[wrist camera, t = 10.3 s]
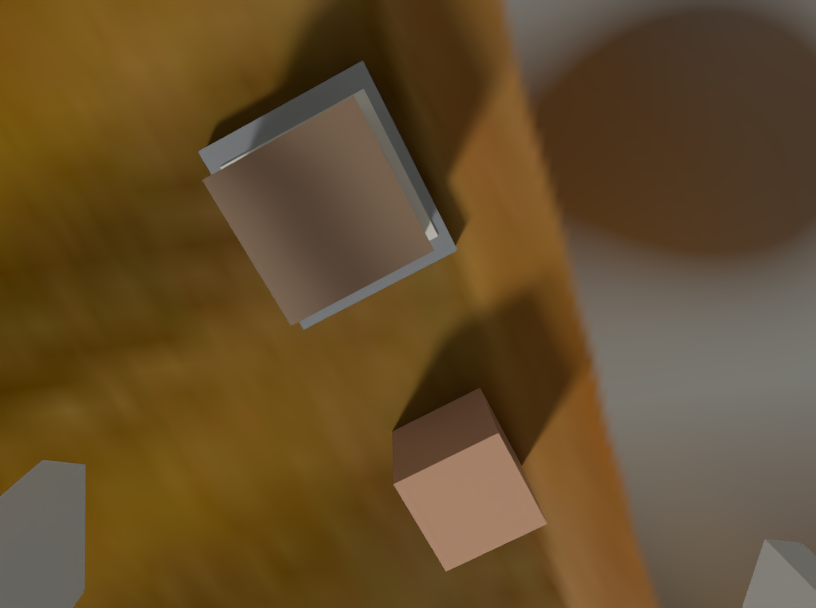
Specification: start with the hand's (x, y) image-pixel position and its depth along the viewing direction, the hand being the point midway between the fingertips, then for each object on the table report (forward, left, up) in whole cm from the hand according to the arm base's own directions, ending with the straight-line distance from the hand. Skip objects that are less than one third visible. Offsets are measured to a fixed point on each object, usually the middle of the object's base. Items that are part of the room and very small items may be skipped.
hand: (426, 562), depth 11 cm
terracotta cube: (+8, -1, -17) cm, 19 cm away
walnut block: (-6, 0, -16) cm, 17 cm away
